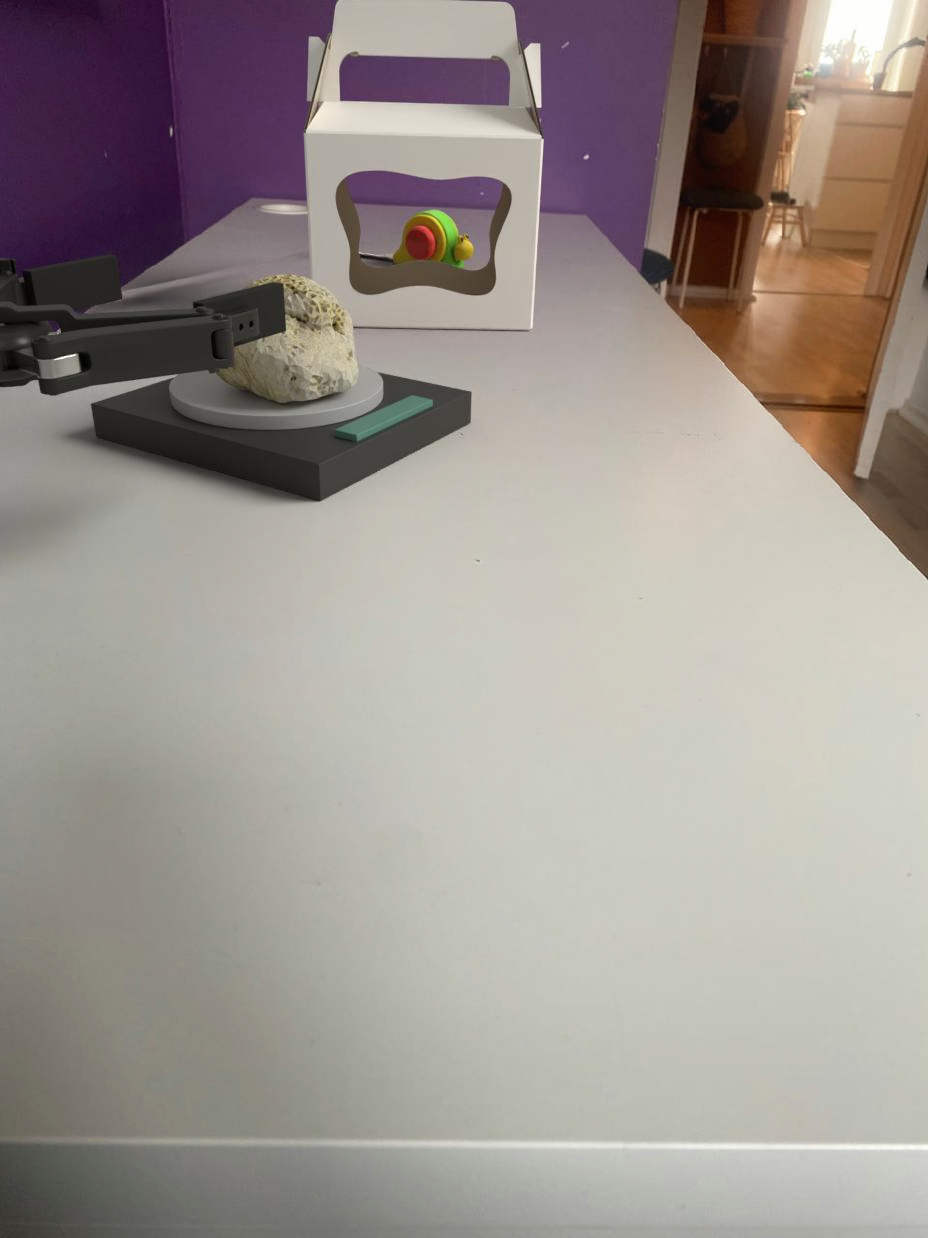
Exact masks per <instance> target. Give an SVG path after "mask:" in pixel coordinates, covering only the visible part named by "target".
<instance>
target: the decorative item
mask: <svg viewBox="0 0 928 1238" xmlns="http://www.w3.org/2000/svg"><path fill="white" fill-rule="evenodd" d="M271 282H277V283H283V286H284V302H285V318H286V331H285V332H282V333H278V334H275V335H272V336H269V337H265V338H262V339H259V340H256V341H252V342H249V343H246V344H243V345H239V346H236V347H234V353H235V366H233V367H229V368H227V369H220V371H219V372H216V374H217V375H218V376H219V377H220V378H221V379H222V380H223V381H225V382H226V383H228V384H230V385H232V386H234V387H236V388H238V389H240V390H249V391H250V392H253V393H255V394H256V395H259V396H261V397H263V398H266V399H267V400H274V401H275V402H277V403H284V404H286V403H290V402H294V401H306V400H312V399H318V398H320V397H322V396H325V395H328V394H333V393H336V392H344V391H346V390H347V389H350V388H352V387H353V386H354V385H355V384H356V381H357V377H358V364H357V363H358V361H357V357H356V346H355V339H354V331H355V330H354V327H353V324H352V321H351V318H350V316H349V314H348V312H347V311H346V310H345V308H344V307H343V306H341V305H340V304H339V302H338V301H337V299H336V298H335V297H334V296H333V294H332V293H331V292H329V290H328V289H327V288H325V287H323V286H322V285H320V284H318V283H317V282H315V281H313V280H311V278H309V277H306V276H301V275H296V274H290V273H289V274H274V275H268V276H265V277H261V278H258V279H255V280H252V281H250V282H248V283H247V284H246V285H245V286H244V287H243V289H247V288H251V287H255V286H259V285H263V284H267V283H271Z"/></svg>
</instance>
